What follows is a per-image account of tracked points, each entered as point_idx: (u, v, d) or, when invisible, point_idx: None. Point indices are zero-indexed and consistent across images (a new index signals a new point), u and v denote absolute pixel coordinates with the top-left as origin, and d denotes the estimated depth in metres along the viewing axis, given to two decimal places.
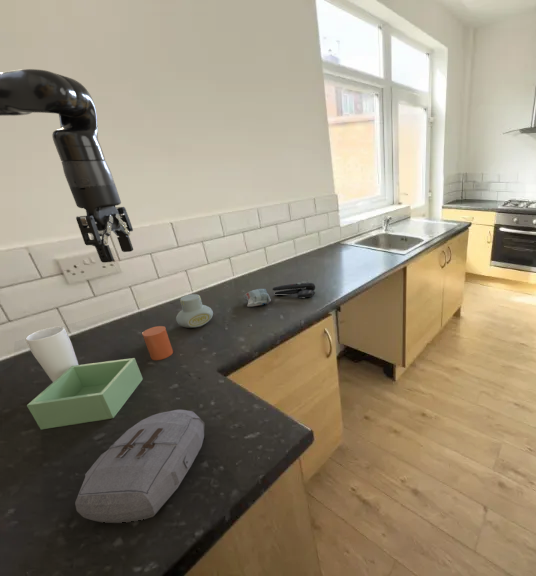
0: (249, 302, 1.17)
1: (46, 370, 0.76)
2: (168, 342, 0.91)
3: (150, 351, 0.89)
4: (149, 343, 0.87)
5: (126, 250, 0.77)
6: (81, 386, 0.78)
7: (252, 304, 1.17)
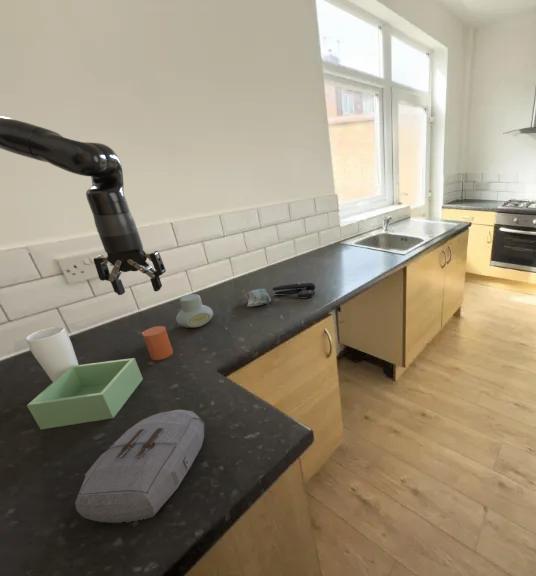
0: (249, 302, 1.17)
1: (46, 370, 0.76)
2: (168, 342, 0.91)
3: (150, 351, 0.89)
4: (149, 343, 0.87)
5: None
6: (81, 386, 0.78)
7: (252, 304, 1.17)
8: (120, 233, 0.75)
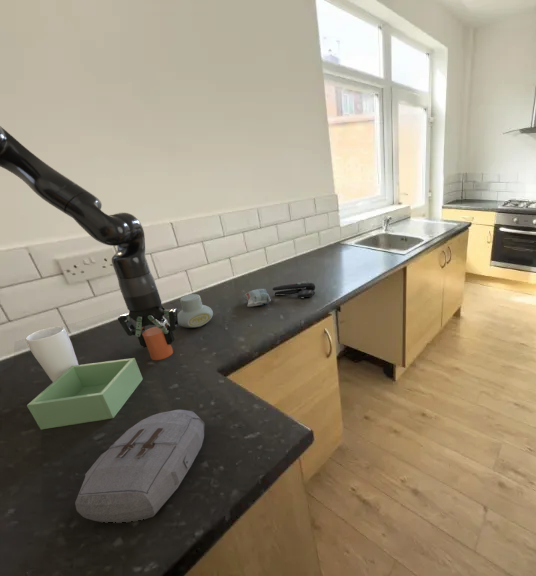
0: (249, 302, 1.17)
1: (46, 370, 0.76)
2: None
3: (150, 351, 0.89)
4: (149, 343, 0.87)
5: None
6: (81, 386, 0.78)
7: (252, 304, 1.17)
8: (142, 293, 0.82)
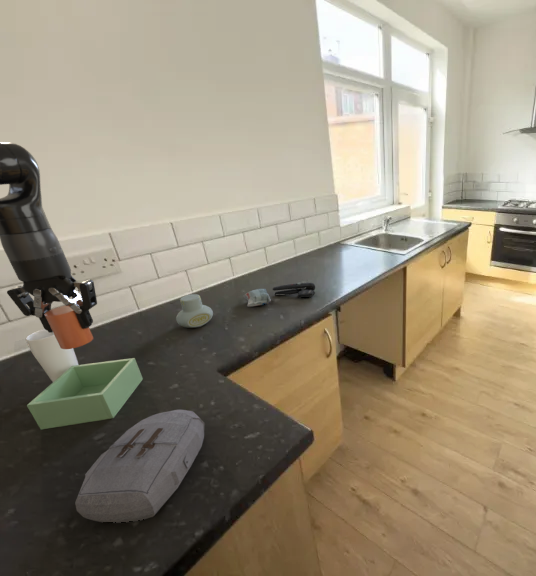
0: (249, 302, 1.17)
1: (46, 370, 0.76)
2: None
3: (57, 337, 0.66)
4: (54, 326, 0.65)
5: None
6: (81, 386, 0.78)
7: (252, 304, 1.17)
8: (35, 256, 0.60)
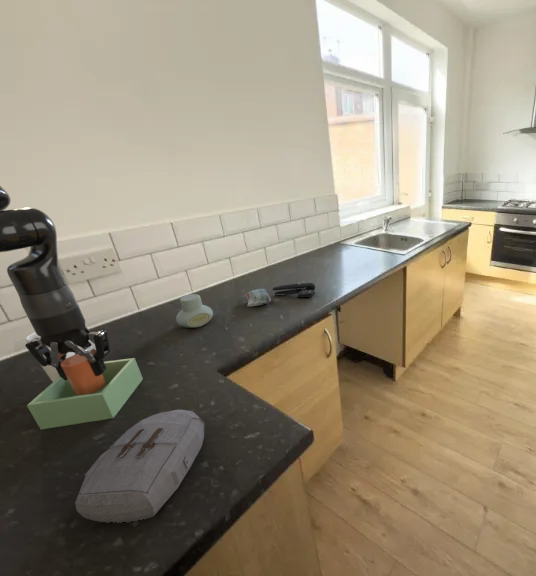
0: (249, 302, 1.17)
1: (46, 370, 0.76)
2: None
3: (72, 385, 0.70)
4: (70, 375, 0.68)
5: None
6: None
7: (252, 304, 1.17)
8: (52, 314, 0.63)
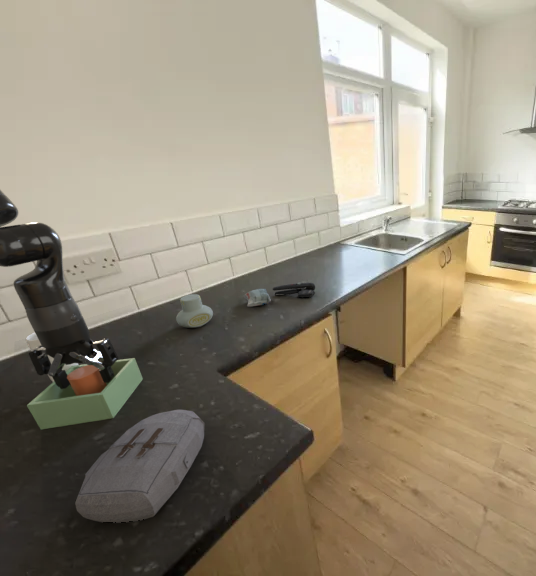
0: (249, 302, 1.17)
1: None
2: (103, 385, 0.73)
3: None
4: (76, 388, 0.70)
5: None
6: None
7: (252, 304, 1.17)
8: (58, 326, 0.64)
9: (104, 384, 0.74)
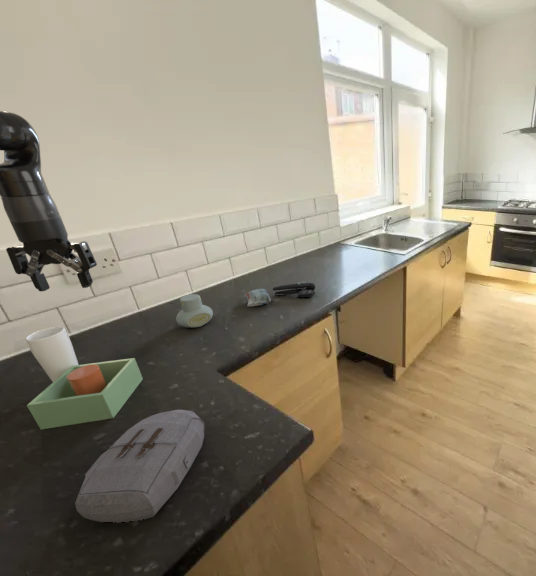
0: (249, 302, 1.17)
1: (46, 370, 0.76)
2: (103, 385, 0.73)
3: None
4: (76, 388, 0.70)
5: None
6: None
7: (252, 304, 1.17)
8: (34, 219, 0.64)
9: (104, 384, 0.74)
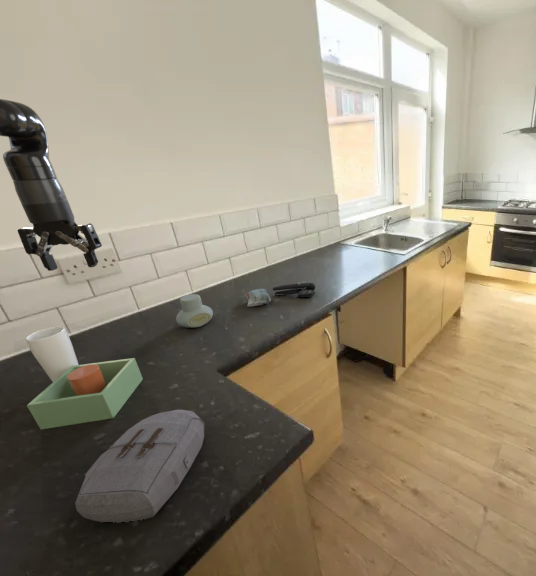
0: (249, 302, 1.17)
1: (46, 370, 0.76)
2: (103, 385, 0.73)
3: None
4: (76, 388, 0.70)
5: None
6: None
7: (252, 304, 1.17)
8: (44, 201, 0.69)
9: (104, 384, 0.74)
